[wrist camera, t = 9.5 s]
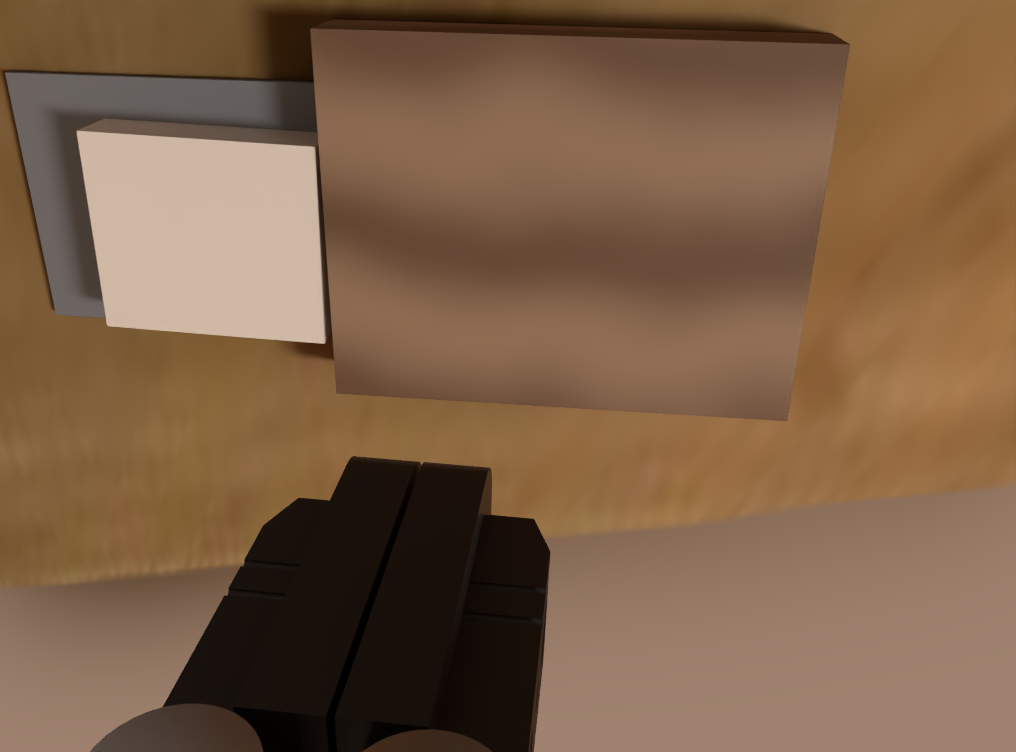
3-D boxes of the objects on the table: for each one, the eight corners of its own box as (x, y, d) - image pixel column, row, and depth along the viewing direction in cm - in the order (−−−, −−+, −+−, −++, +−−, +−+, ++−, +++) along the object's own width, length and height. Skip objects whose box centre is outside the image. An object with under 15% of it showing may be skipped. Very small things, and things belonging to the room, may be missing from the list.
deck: (332, 19, 31) (310, 28, 29) (832, 33, 30) (850, 44, 28) (353, 363, 37) (336, 393, 35) (776, 388, 36) (787, 421, 33)
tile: (105, 118, 33) (76, 130, 32) (331, 133, 33) (315, 146, 31) (131, 305, 36) (107, 325, 35) (338, 321, 36) (324, 343, 34)
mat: (9, 71, 33) (4, 72, 33) (335, 82, 32) (333, 84, 32) (60, 311, 37) (56, 314, 37) (351, 327, 36) (349, 330, 36)
